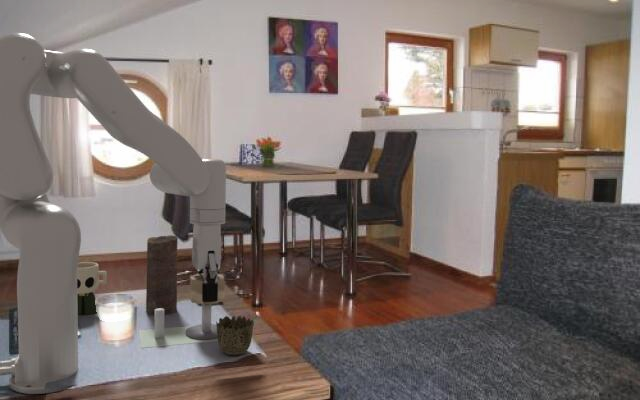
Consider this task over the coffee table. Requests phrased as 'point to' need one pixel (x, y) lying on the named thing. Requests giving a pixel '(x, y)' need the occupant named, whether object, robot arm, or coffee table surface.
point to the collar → (197, 289)
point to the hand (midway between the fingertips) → (206, 296)
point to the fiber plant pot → (234, 335)
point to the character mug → (88, 286)
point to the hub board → (179, 331)
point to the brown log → (161, 274)
